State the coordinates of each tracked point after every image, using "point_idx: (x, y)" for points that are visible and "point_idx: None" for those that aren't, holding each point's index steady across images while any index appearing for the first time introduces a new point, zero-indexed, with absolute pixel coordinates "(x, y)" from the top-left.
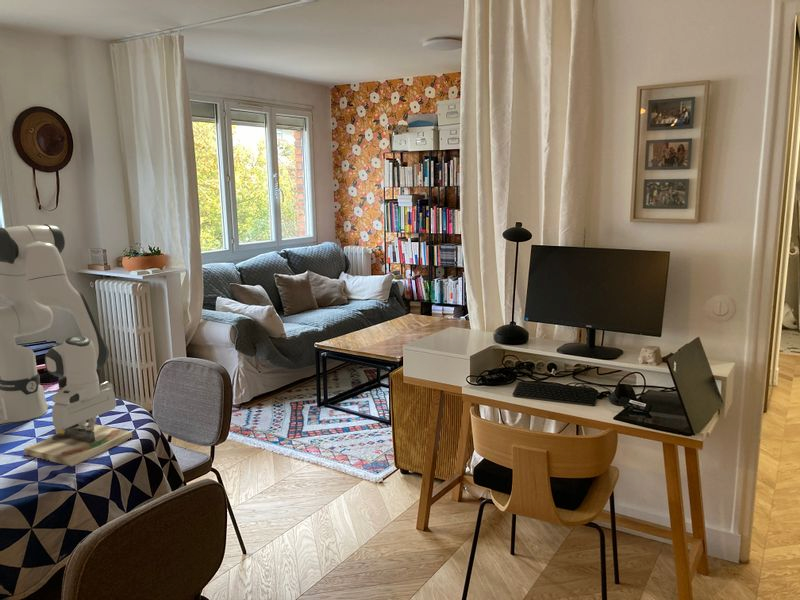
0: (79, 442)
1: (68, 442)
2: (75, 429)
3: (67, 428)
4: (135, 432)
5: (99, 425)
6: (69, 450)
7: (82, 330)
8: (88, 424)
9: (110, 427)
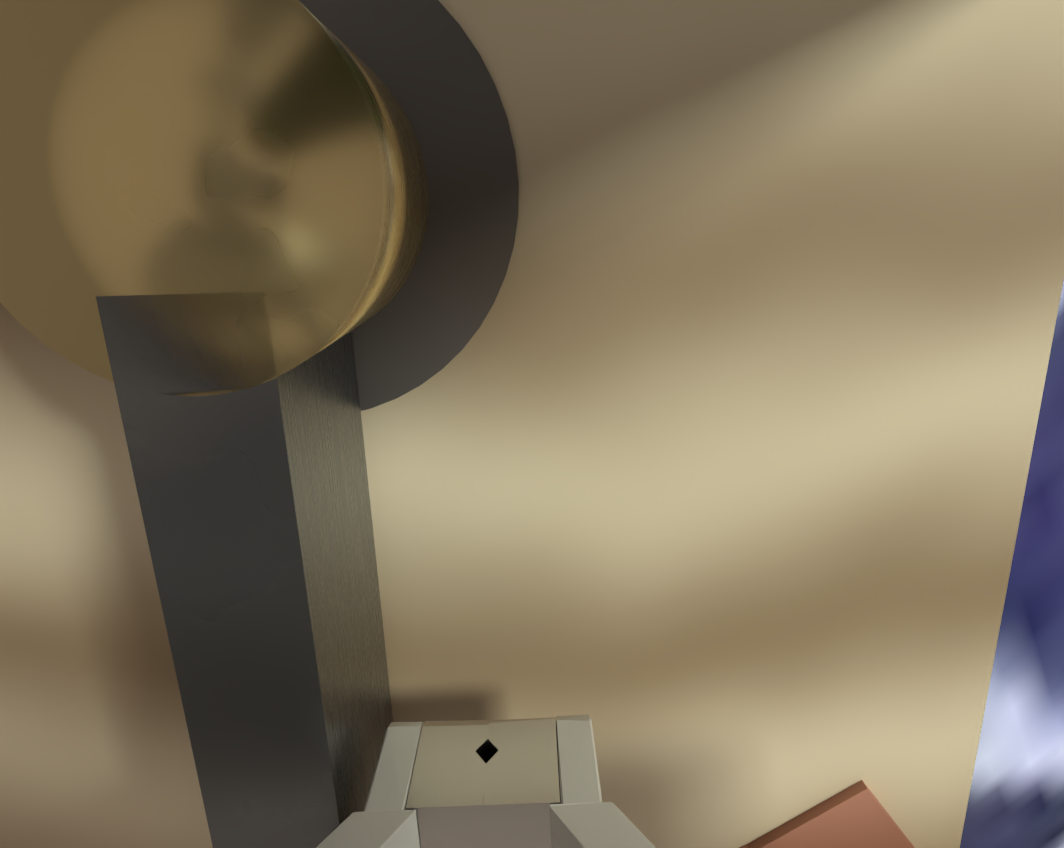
0: None
1: None
2: (234, 745)
3: (144, 516)
4: (1045, 838)
5: (1027, 376)
6: (16, 829)
7: None
8: (561, 833)
9: (987, 648)
